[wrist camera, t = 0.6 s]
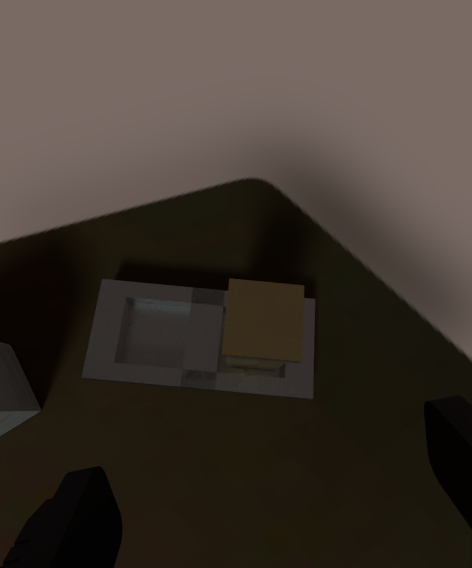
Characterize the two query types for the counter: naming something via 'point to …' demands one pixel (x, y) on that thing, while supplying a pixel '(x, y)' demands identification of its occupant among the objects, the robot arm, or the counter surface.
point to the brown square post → (263, 324)
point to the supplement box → (14, 392)
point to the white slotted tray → (182, 342)
